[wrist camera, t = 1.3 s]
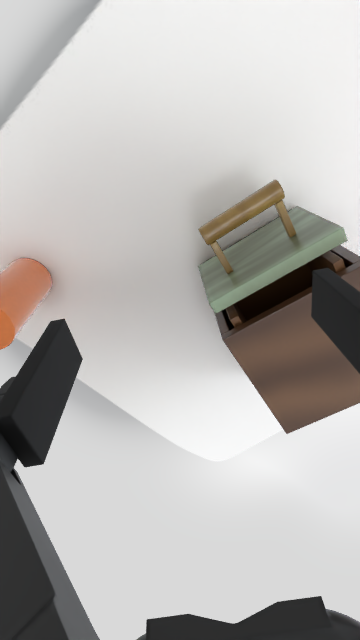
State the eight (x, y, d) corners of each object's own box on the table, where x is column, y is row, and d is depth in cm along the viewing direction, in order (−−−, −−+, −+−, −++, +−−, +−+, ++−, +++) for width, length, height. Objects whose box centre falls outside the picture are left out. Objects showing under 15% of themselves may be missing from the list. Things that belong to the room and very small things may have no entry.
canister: (30, 306, 35) (-14, 359, 26) (-4, 273, 33) (-63, 319, 24) (61, 284, 34) (27, 333, 25) (29, 249, 32) (-21, 289, 23)
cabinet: (206, 288, 35) (222, 339, 26) (310, 227, 32) (369, 261, 23) (259, 370, 42) (286, 434, 32) (349, 325, 39) (407, 382, 29)
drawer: (173, 227, 30) (177, 256, 23) (278, 158, 28) (322, 165, 20) (251, 350, 39) (273, 401, 31) (337, 306, 36) (385, 350, 28)
